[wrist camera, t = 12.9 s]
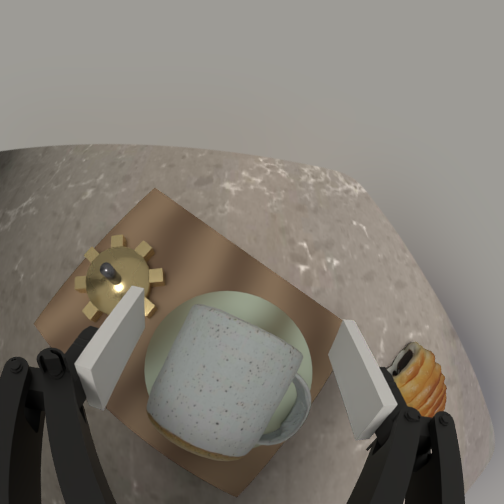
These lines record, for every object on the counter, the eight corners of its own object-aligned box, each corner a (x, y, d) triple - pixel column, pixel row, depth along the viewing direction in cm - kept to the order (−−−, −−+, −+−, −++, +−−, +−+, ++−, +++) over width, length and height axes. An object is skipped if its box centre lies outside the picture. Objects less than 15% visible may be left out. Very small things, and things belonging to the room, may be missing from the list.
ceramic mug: (151, 405, 17) (121, 425, 10) (197, 314, 20) (191, 286, 13) (278, 457, 16) (313, 495, 10) (319, 368, 20) (371, 366, 13)
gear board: (42, 326, 19) (30, 322, 18) (157, 196, 27) (153, 184, 25) (235, 490, 16) (237, 499, 14) (348, 332, 23) (358, 328, 22)
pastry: (445, 390, 22) (468, 389, 18) (412, 437, 20) (435, 442, 16) (405, 338, 24) (429, 332, 21) (367, 387, 22) (390, 388, 18)
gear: (65, 288, 20) (46, 274, 17) (121, 225, 23) (110, 203, 20) (123, 350, 19) (107, 347, 16) (184, 277, 22) (179, 260, 19)
